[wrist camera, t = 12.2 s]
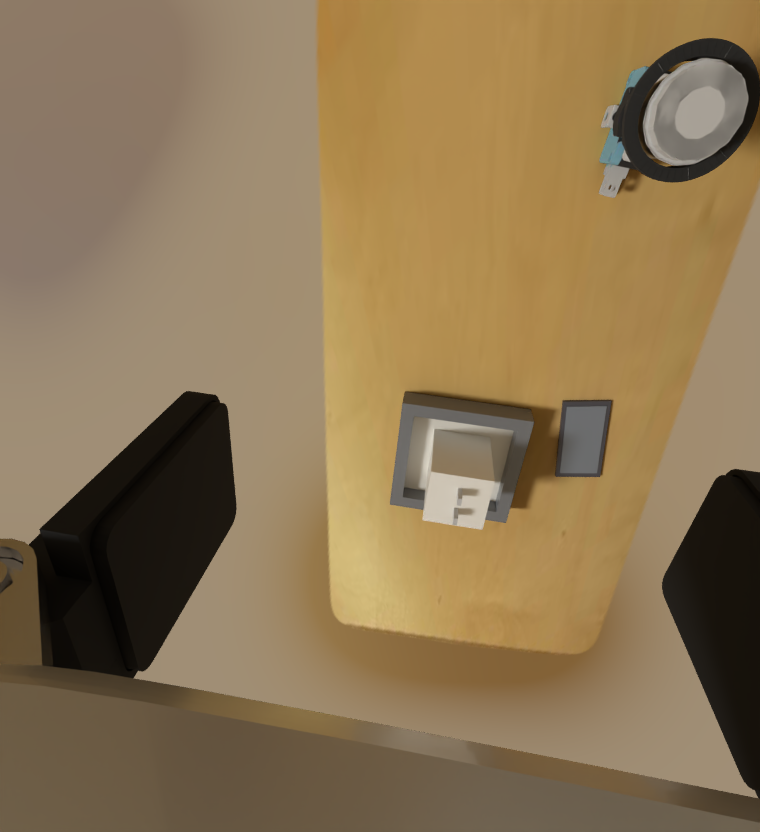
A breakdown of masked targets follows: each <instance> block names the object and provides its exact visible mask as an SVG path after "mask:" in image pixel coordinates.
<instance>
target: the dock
mask: <svg viewBox="0 0 760 832" xmlns="http://www.w3.org/2000/svg"><path fill="white" fill-rule="evenodd" d="M533 425H534V419H533V415H532V412H531V409H524V408H517V407H510V406H503V405H495V404H488V403H481V402H474V401H467V400H460V399H453V398H446V397H439V396H432V395H425V394H418V393H411V392H405V394H404V399H403V404H402V412H401V420H400V428H399V436H398V444H397V452H396V460H395V467H394V475H393V483H392V491H391V499H390V505H397V506H403V507H409V508H415V509H422V510H424V500H425V490H426V479H427V471H428V465H429V459H430V453H431V447H432V441H433V435H434V429H436V430H443V431H450V432H457V433H463V434H470V435H477V436H484V437H490V443H491V452H492V461H493V471H494V480H495V482H494V486H493V490H492V494H491V498H490V502H489V506H488V510H487V514H486V518H485V520H491V521H497V522H503V523H506V521H507V517H508V514H509V510H510V507H511V503H512V499H513V496H514V492H515V489H516V485H517V482H518V478H519V475H520V471H521V467H522V464H523V460H524V457H525V453H526V450H527V446H528V443H529V439H530V435H531V432H532V428H533Z"/></svg>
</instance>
